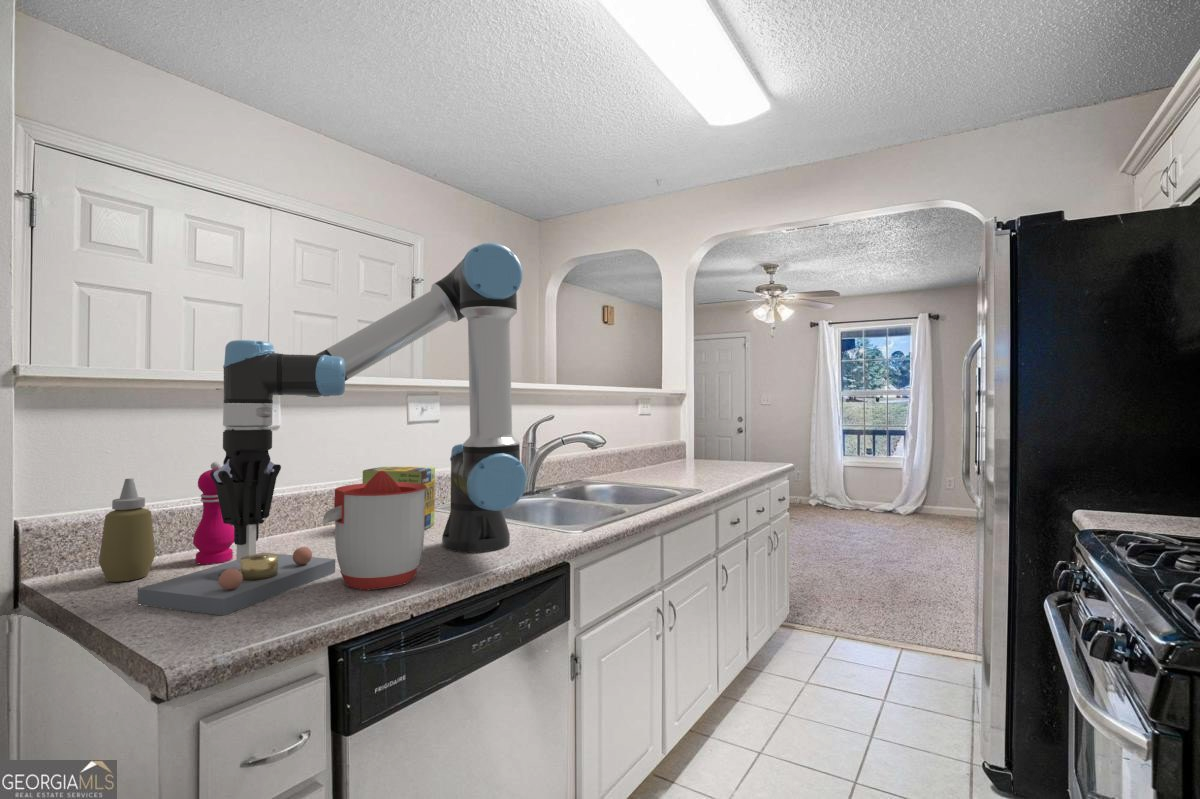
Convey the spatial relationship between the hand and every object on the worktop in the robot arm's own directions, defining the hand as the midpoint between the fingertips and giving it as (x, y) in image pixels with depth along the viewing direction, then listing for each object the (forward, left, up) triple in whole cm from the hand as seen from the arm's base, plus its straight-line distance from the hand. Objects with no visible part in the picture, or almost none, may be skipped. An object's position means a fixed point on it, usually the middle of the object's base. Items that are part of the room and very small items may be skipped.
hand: (246, 561), depth 104 cm
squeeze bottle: (+23, +4, -4) cm, 24 cm away
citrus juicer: (-21, -8, -4) cm, 23 cm away
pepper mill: (+19, -10, -4) cm, 22 cm away
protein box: (+2, -48, -4) cm, 49 cm away
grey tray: (-2, +2, -4) cm, 4 cm away
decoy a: (-7, -6, 0) cm, 9 cm away
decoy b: (-7, +10, 0) cm, 12 cm away
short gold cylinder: (-5, +3, -1) cm, 6 cm away
